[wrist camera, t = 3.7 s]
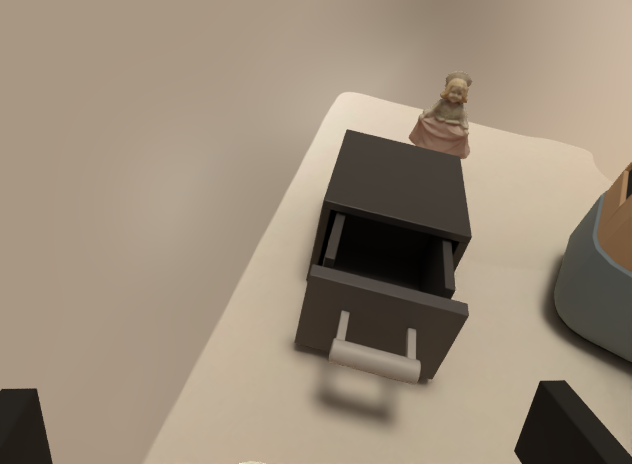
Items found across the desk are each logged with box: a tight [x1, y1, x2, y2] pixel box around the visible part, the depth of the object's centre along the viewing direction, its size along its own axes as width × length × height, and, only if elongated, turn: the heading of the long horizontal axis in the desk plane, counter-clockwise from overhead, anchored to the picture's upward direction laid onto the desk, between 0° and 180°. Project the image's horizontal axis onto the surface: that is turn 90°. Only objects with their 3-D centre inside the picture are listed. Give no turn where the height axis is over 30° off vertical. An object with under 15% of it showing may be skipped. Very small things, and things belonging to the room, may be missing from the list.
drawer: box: [295, 211, 469, 384], centre depth 37 cm, size 18×11×8 cm, turn 169°
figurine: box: [409, 71, 472, 159], centre depth 62 cm, size 11×10×15 cm
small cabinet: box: [306, 129, 472, 281], centre depth 46 cm, size 15×13×10 cm
